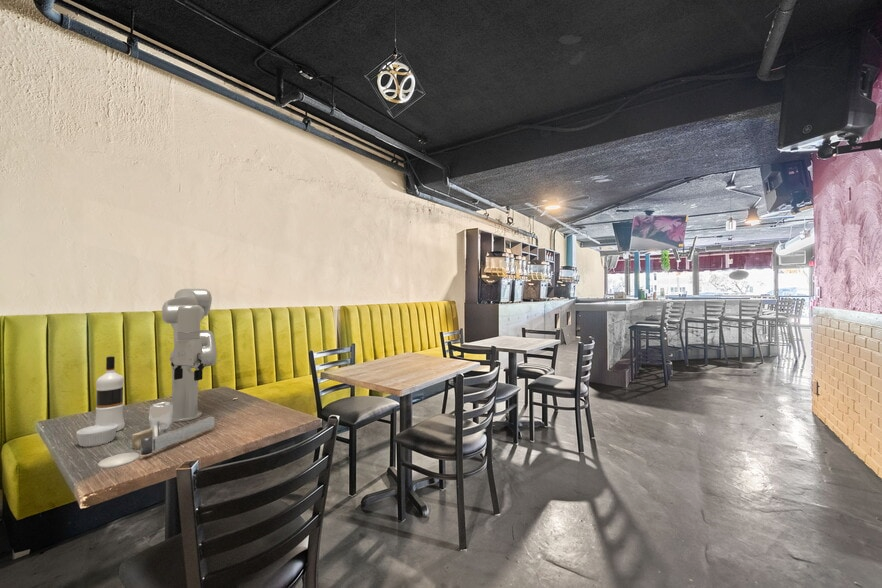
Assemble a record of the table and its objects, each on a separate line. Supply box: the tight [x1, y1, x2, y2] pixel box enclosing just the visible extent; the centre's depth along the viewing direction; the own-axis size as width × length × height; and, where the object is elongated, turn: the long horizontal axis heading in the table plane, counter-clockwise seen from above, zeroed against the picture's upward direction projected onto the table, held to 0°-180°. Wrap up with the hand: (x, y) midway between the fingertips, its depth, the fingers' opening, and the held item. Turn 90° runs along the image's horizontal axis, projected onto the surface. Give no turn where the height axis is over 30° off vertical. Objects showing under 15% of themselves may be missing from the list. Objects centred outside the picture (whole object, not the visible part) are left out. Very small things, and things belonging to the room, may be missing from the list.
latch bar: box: [140, 416, 215, 456], centre depth 133 cm, size 3×28×5 cm, turn 167°
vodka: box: [94, 355, 126, 432], centre depth 146 cm, size 9×9×30 cm
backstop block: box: [131, 428, 152, 450], centre depth 133 cm, size 3×9×5 cm, turn 167°
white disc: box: [97, 452, 140, 469], centre depth 119 cm, size 10×10×1 cm
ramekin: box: [75, 424, 118, 448], centre depth 134 cm, size 11×11×5 cm
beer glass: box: [148, 401, 173, 448], centre depth 131 cm, size 7×7×15 cm
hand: (188, 379), depth 143 cm, fingers open, 9 cm apart
